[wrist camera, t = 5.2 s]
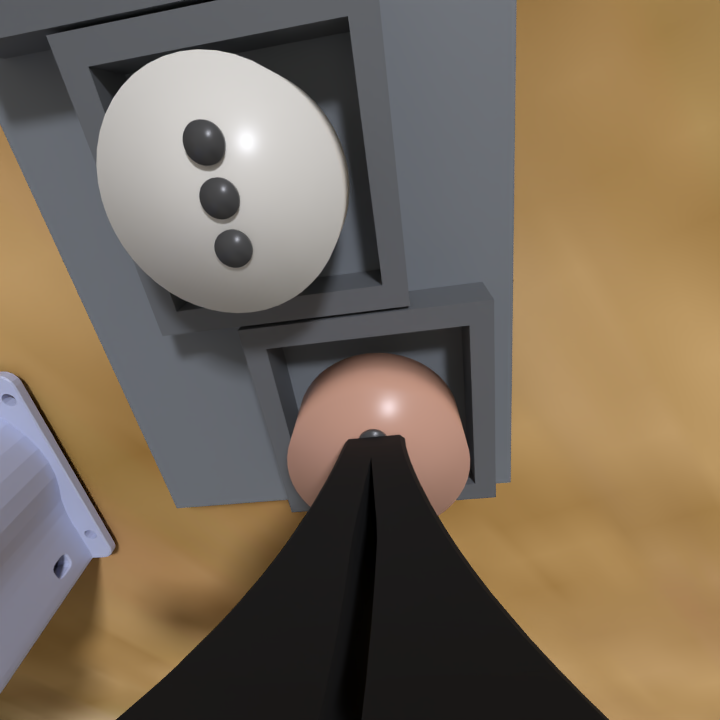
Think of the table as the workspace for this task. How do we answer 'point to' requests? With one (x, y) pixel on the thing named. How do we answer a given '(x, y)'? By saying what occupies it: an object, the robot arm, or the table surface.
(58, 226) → the button panel
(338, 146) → the cream button
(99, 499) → the table surface
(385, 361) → the clay button
